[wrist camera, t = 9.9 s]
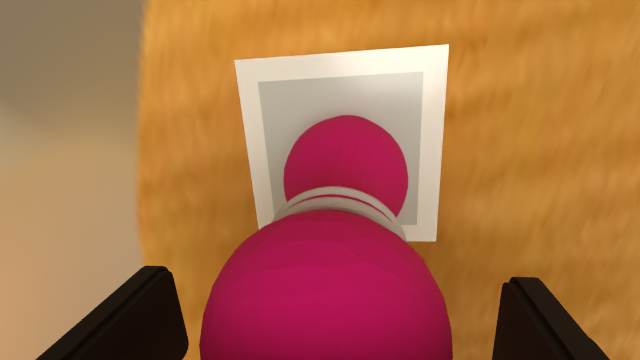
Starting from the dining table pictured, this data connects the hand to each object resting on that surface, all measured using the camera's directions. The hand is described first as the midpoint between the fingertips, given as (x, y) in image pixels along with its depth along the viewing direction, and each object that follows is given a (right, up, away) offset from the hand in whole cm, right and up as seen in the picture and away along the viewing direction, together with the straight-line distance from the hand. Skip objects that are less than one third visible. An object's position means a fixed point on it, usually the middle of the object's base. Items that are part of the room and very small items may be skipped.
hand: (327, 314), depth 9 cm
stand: (+2, +7, +17) cm, 18 cm away
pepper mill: (+2, +5, +14) cm, 15 cm away
